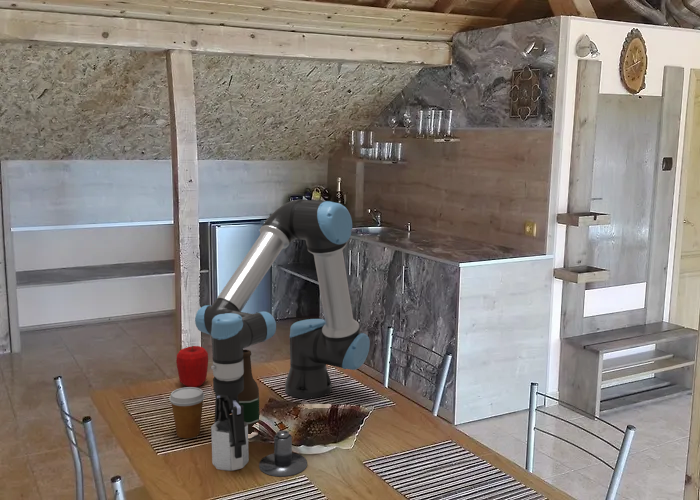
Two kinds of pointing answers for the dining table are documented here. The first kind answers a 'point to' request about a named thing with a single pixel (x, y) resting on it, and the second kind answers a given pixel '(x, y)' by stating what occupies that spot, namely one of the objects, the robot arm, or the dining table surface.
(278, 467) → the duct stub
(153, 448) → the dining table surface
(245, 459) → the sleeve
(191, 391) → the disposable coffee cup
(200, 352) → the apple
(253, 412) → the beer bottle
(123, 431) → the dining table surface
